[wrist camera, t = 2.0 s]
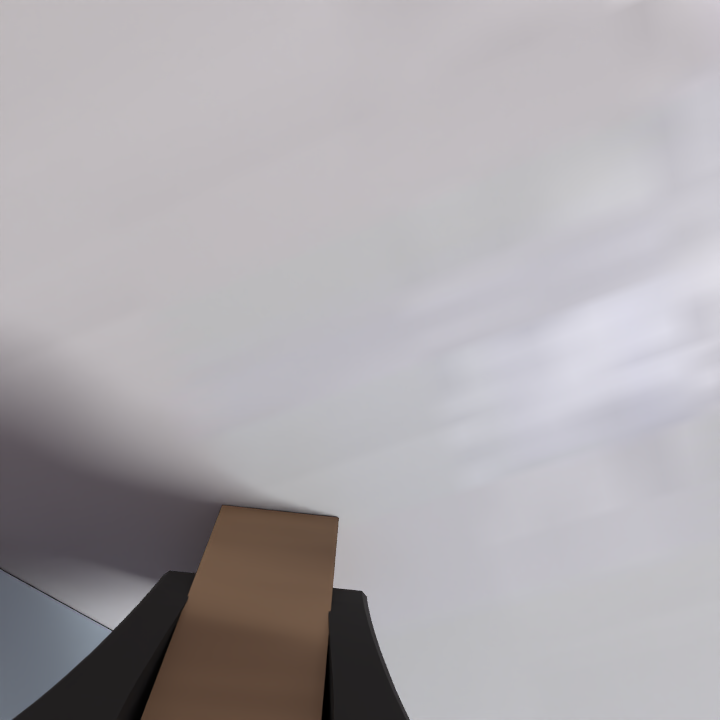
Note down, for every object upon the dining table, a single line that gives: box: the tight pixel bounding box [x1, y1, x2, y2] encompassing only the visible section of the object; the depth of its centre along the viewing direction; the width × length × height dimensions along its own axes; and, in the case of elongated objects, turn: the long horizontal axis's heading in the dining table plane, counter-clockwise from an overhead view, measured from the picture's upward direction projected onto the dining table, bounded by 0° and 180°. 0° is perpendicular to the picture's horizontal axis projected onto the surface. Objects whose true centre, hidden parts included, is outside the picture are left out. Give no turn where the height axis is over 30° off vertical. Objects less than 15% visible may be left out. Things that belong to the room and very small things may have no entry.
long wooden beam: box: [141, 505, 339, 720], centre depth 12 cm, size 2×2×7 cm
